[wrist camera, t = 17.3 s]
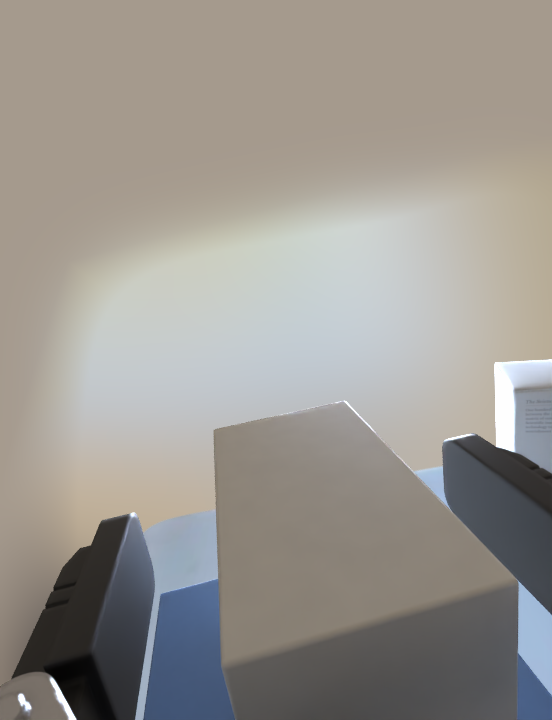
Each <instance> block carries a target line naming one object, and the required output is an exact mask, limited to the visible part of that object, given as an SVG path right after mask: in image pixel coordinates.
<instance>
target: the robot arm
mask: <svg viewBox="0 0 552 720" xmlns="http://www.w3.org/2000/svg"><path fill="white" fill-rule="evenodd" d="M442 452H443V476H444V492H445V497H446V500H447V503H448V505H449V507H450V509H451V510H452V512H453V513H454V514H455V515H456V516H457V517H458V518H459V519H460V520H461V521H462V523H463V524H464V525H465V526H466V527H467V528H468V529H469V530H470V531H471V532H472V533H473V534H474V535H475V536H476V537H477V538H478V539H479V540H480V541H481V542H482V543H483V544H484V545H485V546H486V547H487V548H488V550H489V551H490V552H491V553H492V554H493V555H494V556H495V557H496V558H497V559H498V560H499V561H500V562H501V563H502V564H503V565H504V566H505V567H506V568H507V569H508V570H509V571H510V572H511V573H512V574H513V575H514V576H515V577H516V579H517V580H518V581H519V582H520V583H521V584H522V585H523V586H524V587H525V588H526V589H527V590H528V591H529V592H530V593H531V594H532V595H533V596H534V597H535V598H536V599H537V600H538V601H539V602H540V603H541V604H542V605H543V606H544V607H545V608H546V609H547V610H548V611H549V612H550V614H551V615H552V473H550V472H549V471H547V470H545V469H544V468H540V467H539V465H537V464H536V463H534V462H532V461H531V460H529V459H528V458H526V457H524V456H523V455H521V454H518V453H515V452H512V451H510V450H507V449H504V448H501V447H495V446H494V445H492V444H491V443H489V442H488V441H486V440H484V439H483V438H481V437H480V436H478V435H477V434H474V433H472V434H467V435H463V436H459V437H454V438H450V439H446V440H445V441H444V442H443V446H442ZM154 589H155V581H154V571H153V566H152V562H151V558H150V555H149V552H148V548H147V545H146V542H145V538H144V535H143V531H142V528H141V525H140V521H139V518H138V516H137V515H136V514H135V513H131V514H127V515H122V516H118V517H114V518H110V519H105V520H102V521H101V523H100V524H99V527H98V530H97V532H96V535H95V537H94V540H93V542H92V544H91V546H87V547H83V548H80V549H79V550H78V551H77V552H76V553H75V554H74V555H73V557H72V558H71V559H70V560H69V561H68V562H67V563H66V564H65V566H64V567H63V568H62V570H61V572H60V575H59V577H58V579H57V581H56V583H55V585H54V591H53V592H51V594H50V596H49V598H48V601H47V603H46V605H45V606H46V609H44V610H43V611H42V613H41V616H40V618H39V620H38V622H37V624H36V626H35V629H34V631H33V633H32V635H31V637H30V639H29V642H28V644H27V646H26V648H25V650H24V652H23V655H22V657H21V659H20V661H19V663H18V665H17V668H16V670H15V672H14V674H13V676H12V679H11V680H10V681H8V682H6V683H4V684H2V685H1V686H0V720H135V715H136V709H137V702H138V696H139V689H140V682H141V676H142V669H143V663H144V656H145V650H146V643H147V637H148V630H149V624H150V617H151V611H152V604H153V598H154Z"/></svg>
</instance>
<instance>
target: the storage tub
mask: <svg viewBox="0 0 552 720" xmlns="http://www.w3.org/2000/svg"><path fill="white" fill-rule="evenodd" d="M143 720H235V717H234V713H233V709H232V705H231V701H230V698H229V694H228V690H227V686H226V683H225V679H224V675H223V671H222V667H221V647H220V616H219V585H218V579H216V580H212V581H208V582H204V583H200V584H197V585H193V586H189V587H185V588H181V589H178V590H174V591H170V592H166V593H163V594H161V596H160V603H159V610H158V618H157V625H156V632H155V639H154V647H153V654H152V661H151V668H150V676H149V683H148V690H147V697H146V704H145V712H144V719H143ZM517 720H552V696H551V694H550V693H549V692H548V691H547V689H546V688H545V687H544V686H543V684H542V683H541V682H540V680H539V679H538V678H537V677H536V675H535V674H534V673H533V672H532V670H531V669H530V668H529V666H528V665H527V664H526V663H525V661H524V660H523V659H522V658H521V656H520V655H519V654H518V690H517Z"/></svg>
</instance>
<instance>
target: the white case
mask: <svg viewBox="0 0 552 720" xmlns="http://www.w3.org/2000/svg"><path fill="white" fill-rule="evenodd" d="M214 460H215V489H216V491H215V492H216V523H217V554H218V585H219V616H220V647H221V667H222V671H223V675H224V679H225V683H226V686H227V690H228V694H229V698H230V701H231V705H232V709H233V713H234V717H235V720H517V690H518V581H517V579H516V578H515V576H514V575H513V574H512V573H511V572H510V571H509V570H508V569H507V568H506V567H505V566H504V565H503V564H502V563H501V562H500V561H499V560H498V559H497V558H496V557H495V556H494V555H493V554H492V553H491V552H490V551H489V550H488V548H487V547H486V546H485V545H484V544H483V543H482V542H481V541H480V540H479V539H478V538H477V537H476V536H475V535H474V534H473V533H472V532H471V531H470V530H469V529H468V528H467V527H466V526H465V525H464V524H463V523H462V521H461V520H460V519H459V518H458V517H457V516H456V515H455V514H454V513H453V512H452V511H451V510H450V509H449V508H448V507H447V506H446V505H445V504H444V503H443V502H442V501H441V500H440V499H439V498H438V497H437V496H436V495H435V493H434V492H433V491H432V490H431V489H430V488H429V487H428V486H427V485H426V484H425V483H424V482H423V481H422V480H421V479H420V478H419V477H418V476H417V475H416V474H415V473H414V472H413V471H412V470H411V469H410V468H409V467H408V465H407V464H406V463H405V462H404V461H403V460H402V459H401V458H400V457H399V456H398V455H397V454H396V453H395V452H394V451H393V450H392V449H391V448H390V447H389V446H388V445H387V444H386V443H385V442H384V441H383V440H382V438H380V436H379V435H378V434H377V433H376V432H375V431H374V430H373V429H372V428H371V427H370V426H369V425H368V424H367V423H366V422H365V421H364V420H363V419H362V418H361V417H360V416H359V415H358V414H357V413H356V412H355V410H354V409H353V408H352V407H351V406H350V405H349V404H348V403H347V402H346V401H342V402H338V403H333V404H328V405H324V406H319V407H315V408H310V409H306V410H301V411H297V412H292V413H288V414H283V415H278V416H274V417H269V418H264V419H260V420H256V421H251V422H246V423H241V424H237V425H232V426H227V427H223V428H219V429H215V430H214Z"/></svg>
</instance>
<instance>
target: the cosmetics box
mask: <svg viewBox="0 0 552 720" xmlns="http://www.w3.org/2000/svg"><path fill="white" fill-rule="evenodd" d="M495 393H496V439H497V440H496V441H497V447H501V448H504V449H507V450H510V451H512V452H515V453H518V454H521V455H523V456H524V457H526V458H528V459H529V460H531V461H532V462H534V463H536V464H537V465H539V467H540V468H544V469H545V470H547V471H549V472H550V473H552V359H551V360H535V361H518V362H498V363H495Z"/></svg>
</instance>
